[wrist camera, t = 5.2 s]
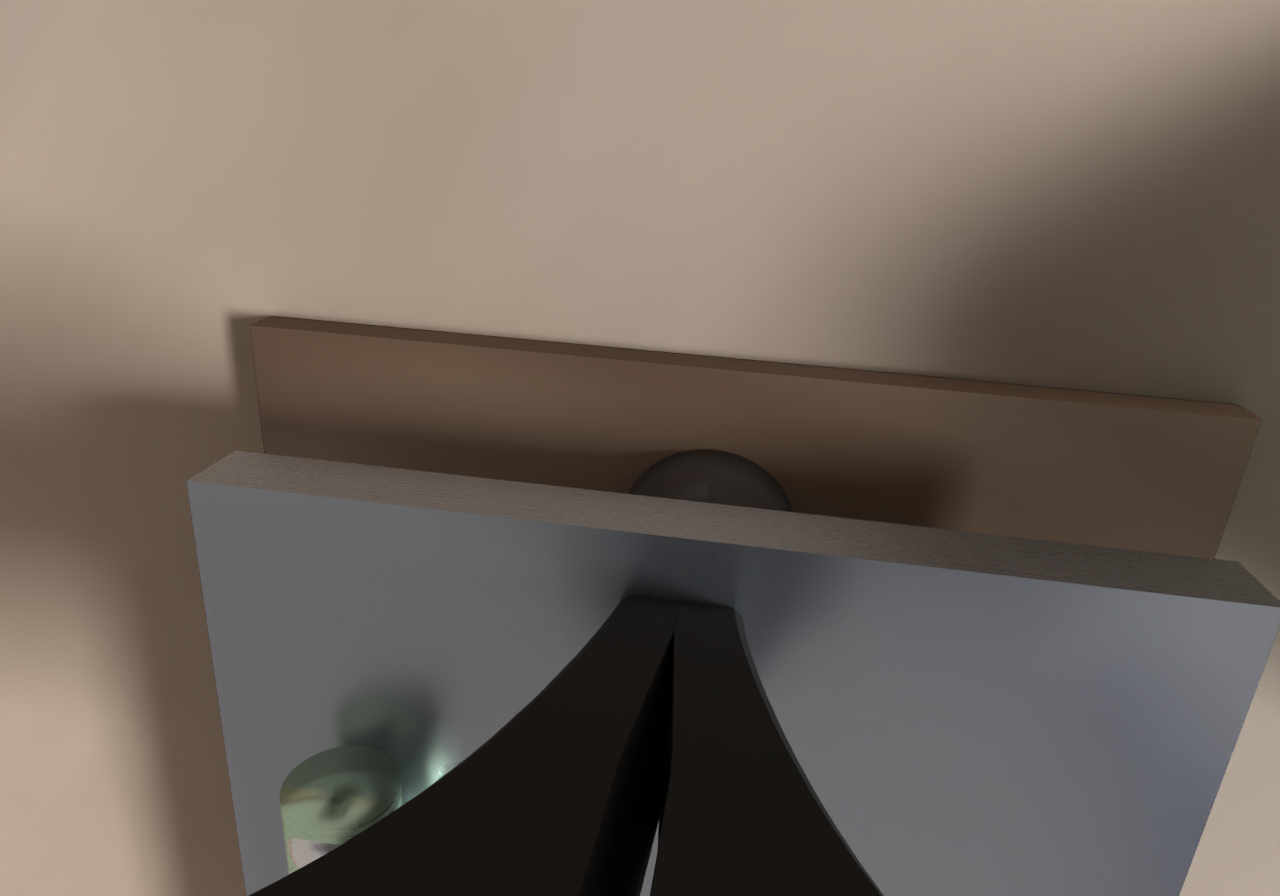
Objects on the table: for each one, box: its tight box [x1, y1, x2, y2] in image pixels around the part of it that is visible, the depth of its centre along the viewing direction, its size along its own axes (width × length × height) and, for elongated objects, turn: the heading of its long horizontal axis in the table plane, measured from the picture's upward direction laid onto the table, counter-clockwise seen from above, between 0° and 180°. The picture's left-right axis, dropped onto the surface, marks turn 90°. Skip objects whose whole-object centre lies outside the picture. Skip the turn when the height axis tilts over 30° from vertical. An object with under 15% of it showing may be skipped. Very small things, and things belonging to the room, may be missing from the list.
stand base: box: [250, 316, 1261, 559], centre depth 14 cm, size 16×14×3 cm
